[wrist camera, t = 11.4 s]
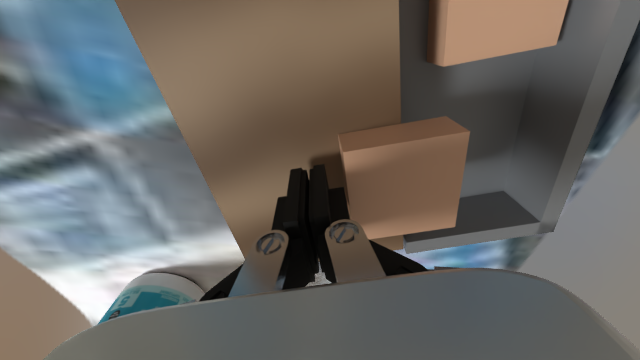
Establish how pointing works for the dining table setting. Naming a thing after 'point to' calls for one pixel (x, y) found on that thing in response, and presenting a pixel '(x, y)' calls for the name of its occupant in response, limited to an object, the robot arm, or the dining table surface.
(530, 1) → the tile
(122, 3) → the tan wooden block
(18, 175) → the dining table surface
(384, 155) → the tile
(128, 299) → the pill bottle
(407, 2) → the tray
